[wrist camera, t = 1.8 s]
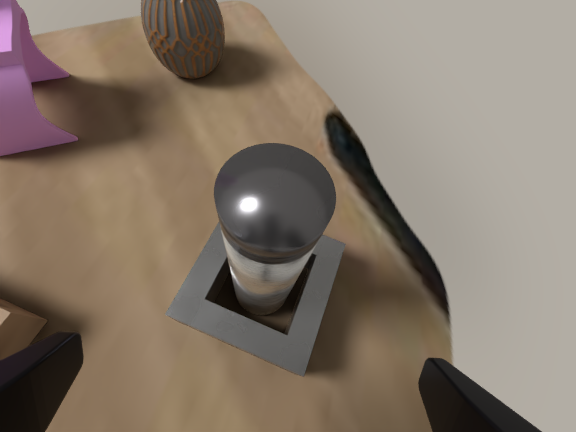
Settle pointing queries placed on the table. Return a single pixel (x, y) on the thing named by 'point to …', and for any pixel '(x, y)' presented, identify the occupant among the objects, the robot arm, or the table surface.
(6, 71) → the toy chair
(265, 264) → the silver and grey cylinder
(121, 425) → the table surface
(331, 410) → the table surface
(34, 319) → the block
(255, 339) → the socket block
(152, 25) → the vase
